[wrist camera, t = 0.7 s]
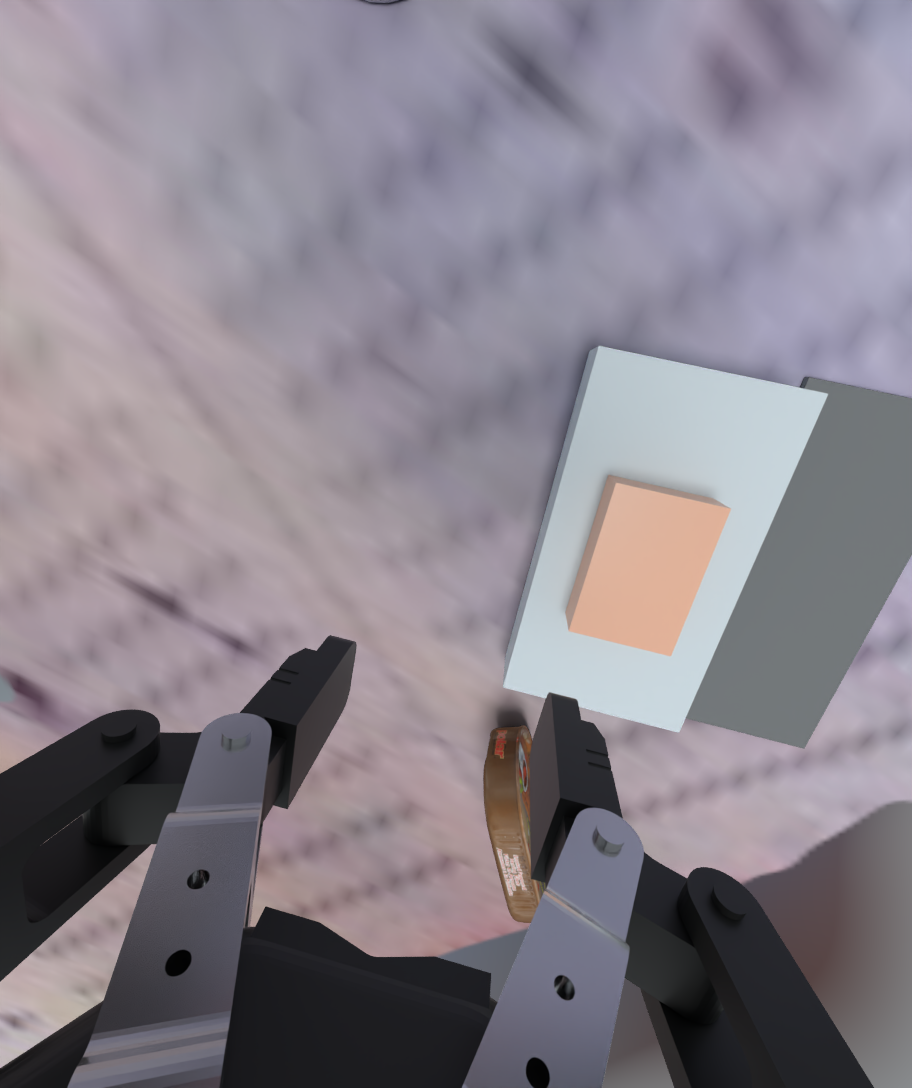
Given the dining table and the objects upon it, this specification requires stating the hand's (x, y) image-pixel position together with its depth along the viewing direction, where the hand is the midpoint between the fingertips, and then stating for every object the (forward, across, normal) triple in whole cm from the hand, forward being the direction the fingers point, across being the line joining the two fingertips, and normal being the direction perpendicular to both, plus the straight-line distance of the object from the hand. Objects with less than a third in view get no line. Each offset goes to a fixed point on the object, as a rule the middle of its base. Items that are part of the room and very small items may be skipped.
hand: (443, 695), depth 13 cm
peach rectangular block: (+17, -9, 0) cm, 20 cm away
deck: (+21, -10, 0) cm, 23 cm away
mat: (+21, -21, 0) cm, 30 cm away
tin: (+22, -8, +22) cm, 32 cm away
